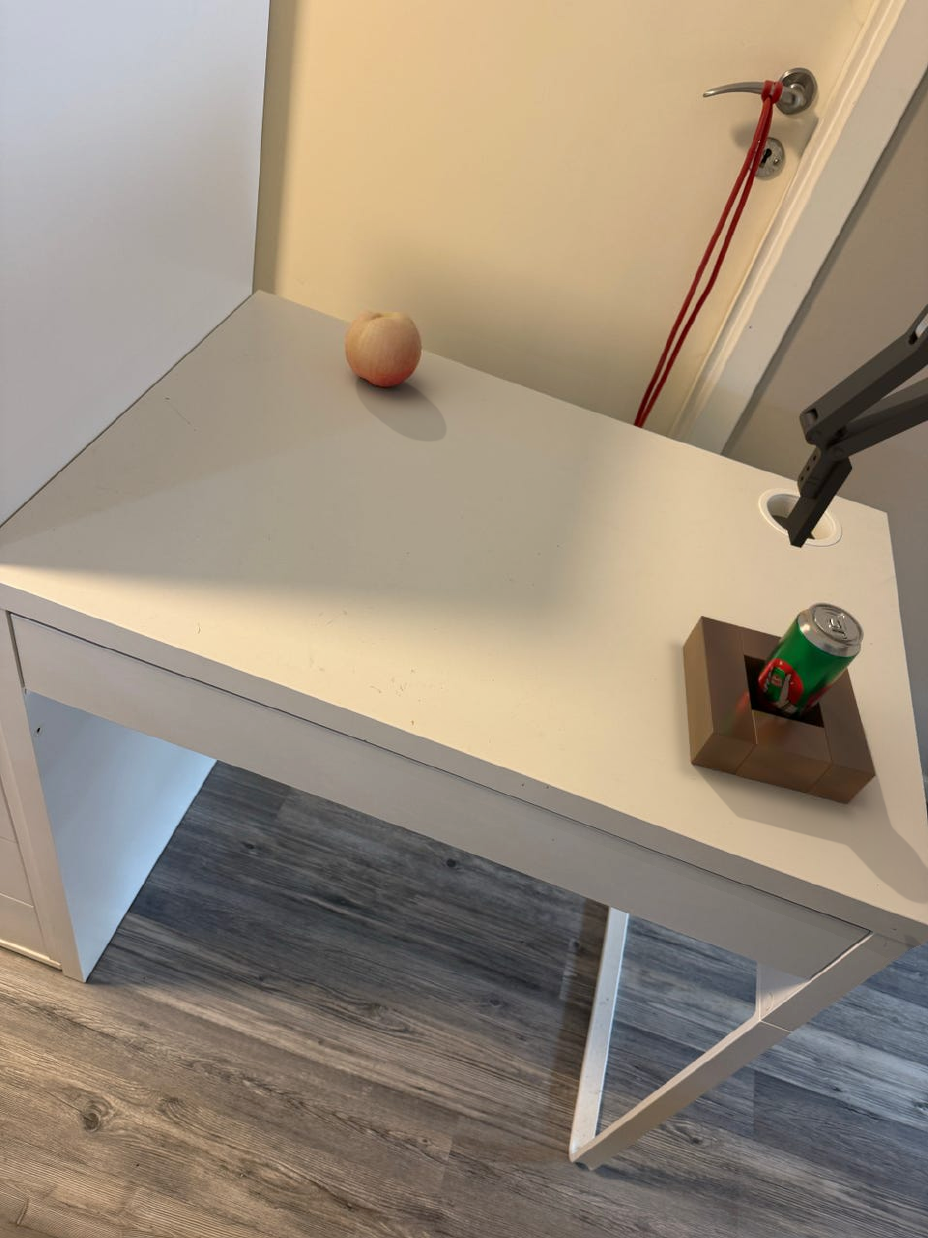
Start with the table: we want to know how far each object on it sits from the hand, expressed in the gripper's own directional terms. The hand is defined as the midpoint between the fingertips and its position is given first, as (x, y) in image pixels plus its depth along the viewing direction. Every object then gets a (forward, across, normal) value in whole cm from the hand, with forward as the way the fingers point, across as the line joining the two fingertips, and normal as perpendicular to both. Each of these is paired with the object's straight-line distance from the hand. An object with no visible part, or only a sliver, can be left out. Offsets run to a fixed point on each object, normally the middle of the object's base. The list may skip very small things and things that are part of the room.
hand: (886, 560), depth 58 cm
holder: (+18, 0, 0) cm, 18 cm away
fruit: (+18, +41, -37) cm, 59 cm away
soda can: (+19, 0, 0) cm, 19 cm away
